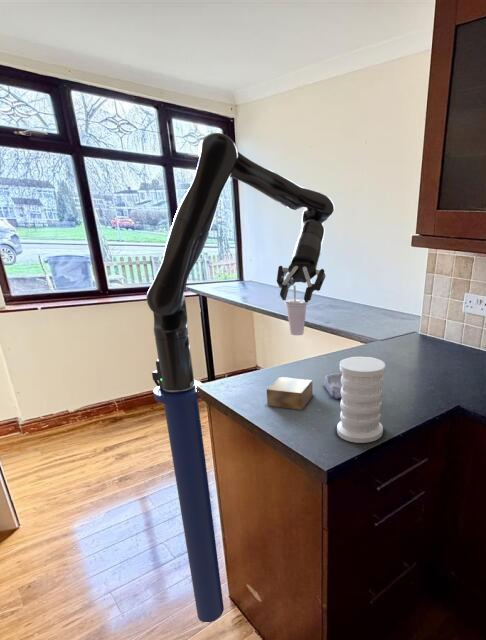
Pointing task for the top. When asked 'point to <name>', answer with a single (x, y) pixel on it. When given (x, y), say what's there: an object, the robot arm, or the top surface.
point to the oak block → (289, 393)
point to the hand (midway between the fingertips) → (294, 299)
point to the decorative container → (361, 399)
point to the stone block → (333, 385)
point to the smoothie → (296, 314)
